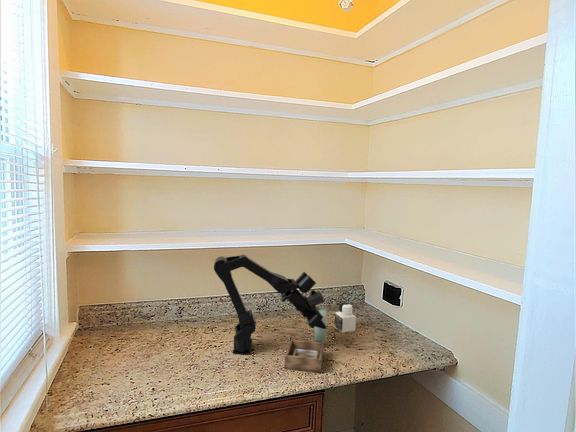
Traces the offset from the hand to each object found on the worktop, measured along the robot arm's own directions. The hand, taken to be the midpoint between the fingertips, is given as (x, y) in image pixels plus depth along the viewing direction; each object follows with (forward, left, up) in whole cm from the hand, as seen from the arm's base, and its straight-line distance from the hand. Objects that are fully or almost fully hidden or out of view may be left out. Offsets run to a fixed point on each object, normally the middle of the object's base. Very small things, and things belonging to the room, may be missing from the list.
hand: (323, 325), depth 144 cm
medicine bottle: (+9, +19, -9) cm, 22 cm away
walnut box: (-6, -15, -8) cm, 18 cm away
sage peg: (-1, 0, -7) cm, 7 cm away
